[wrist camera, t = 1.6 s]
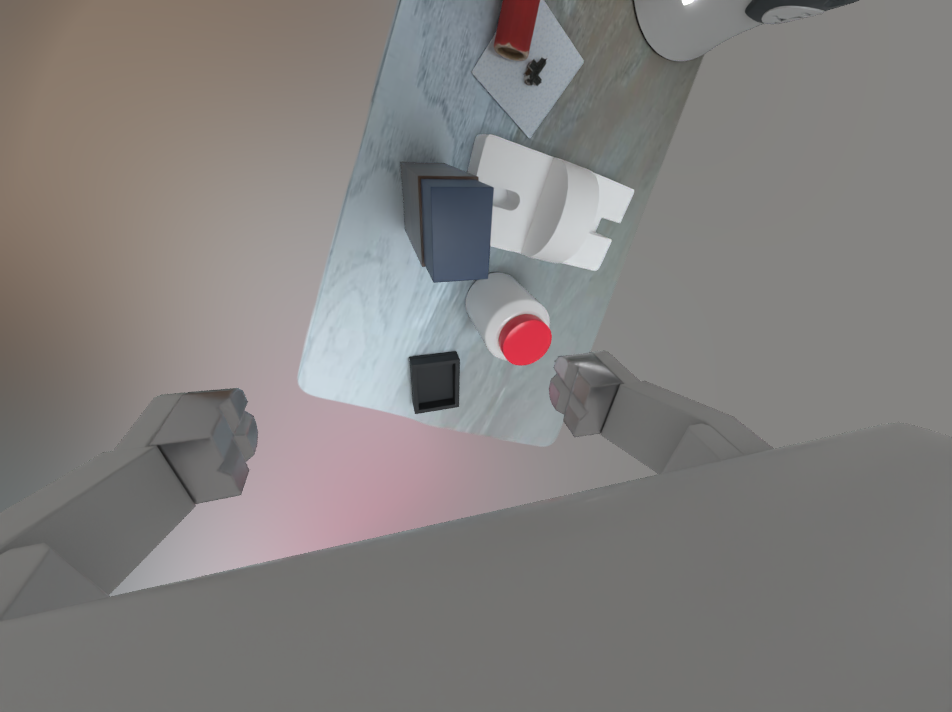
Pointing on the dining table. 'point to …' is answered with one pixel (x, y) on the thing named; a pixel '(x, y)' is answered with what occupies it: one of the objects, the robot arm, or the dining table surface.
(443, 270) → the dark blue rectangular block
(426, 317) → the dining table surface
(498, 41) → the dynamite stick
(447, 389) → the dark rectangular tray
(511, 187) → the slotted mounting bracket
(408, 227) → the dark brown tall block
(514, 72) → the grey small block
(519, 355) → the pill bottle
